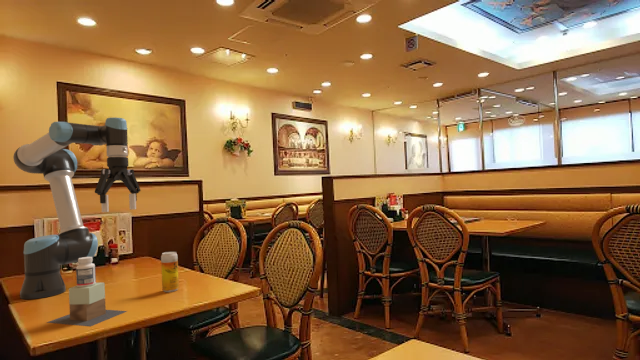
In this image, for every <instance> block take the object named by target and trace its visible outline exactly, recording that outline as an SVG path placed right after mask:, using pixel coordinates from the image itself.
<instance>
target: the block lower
mask: <svg viewBox="0 0 640 360" xmlns="http://www.w3.org/2000/svg"><path fill="white" fill-rule="evenodd" d="M68 306H69V314H70V320H80V321H88V320H91V319H93V318H96V317H99V316H101V315H104V314H106V310H107V307H106V297H105V298H103V299H101V300H99V301H96V302H94V303H91V304H69V305H68Z"/></svg>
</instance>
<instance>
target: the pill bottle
mask: <svg viewBox="0 0 640 360" xmlns="http://www.w3.org/2000/svg"><path fill="white" fill-rule="evenodd" d="M93 258H94V257H93ZM93 258H92V257H82V258H79V259H78V262H77V264H78V265H77V266H76V267H75V273H76V274H75V275H76V276H75V277H76V286H77V287H88V286H92V285H95V284H96V283H97V279H96V278H97V277H96V276H97V275H96V265H95V263H93V261H94V259H93Z"/></svg>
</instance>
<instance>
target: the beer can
mask: <svg viewBox="0 0 640 360" xmlns="http://www.w3.org/2000/svg"><path fill="white" fill-rule="evenodd" d="M178 259H179V258H178V254H177V251H165V252H162V253H161V256H160V263H161V286H162V287H161V288H162V291H163V292H164V293H174V292H176V291H178V290H179V288H180V286H179V285H180V284H179V283H180V282H179V261H178Z"/></svg>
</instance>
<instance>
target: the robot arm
mask: <svg viewBox="0 0 640 360" xmlns="http://www.w3.org/2000/svg"><path fill="white" fill-rule="evenodd" d="M128 142H129V141H128V124H127V120H126V119H125V118H123V117H108V118H106V119H105V123H104V125H96V124H94V125H93V124H83V123H75V122H67V121H53V122H51V124H50V125H49V129H48V132H47V133H46V134H44V135H42V136H41V137H39V138H37V139H36V140H34V141H33V142H31V143H26V144H23V145H21V146H19V147H18V148H17V149H16V150H15V151H14V153H13V159H12V160H13V161H14V162H13V163H14V164H15V165H16V167H18V169H20V170H22V172H24V173H25V172H26V173H28V174H41V175H43V179H44V180H45V181H47V182H49V187H50V191H51V195H52V199H53V203H54V207H55V211H56V216H57V220H58V223H59V228H60V231H59V233H58V234H48V235H42V236H37V237H34V238H30V239H28V240H27V241H25V242H24V245H23V252H22V253H23V259H24V260H23V262H24V265H23V266H24V279H23V283H22V285H21V288H20V291H19V298H20V299H22V300H35V299H43V298H48V297H53V296H56V295H61V294H63V293H64V292H66V291H67V290H66V284H65V282H64V278H63V277H62V274H61V269H60V268H61V267H60V266H62V265H63V266H64V265H68V264H74V263H78V259H79V258H82V257H92V258H94V257H95V255H96V254H97V252H98V251H97V250H98V247H99V246H98V245H99V242H98V237H97V235H96V234H95V233H93V232H90V231H89V228H88V227H87V226H84V222H83V220H82V215H81V214H82V213H81V211H80V207H79V204H78V199H77V195H76V191H75V187H74V183H73V180H72V178H73V177H74V175H75V173H76V171H77V169H78V159H77V157H76V155H75V153H74V152H73V151H72V150H70V149H66V147H68V146H69V145H71V144H86V145H87V144H89V145H92V146H104V145H105V146H106V157H107V158H106V167H107V168H102V169H101V170H100V176H99V179H98V182H97V185H96V187H95V189H94V193H95V194H96V195H98V196H99V202H100V204H101V213H109V212H110V209H109V208H110V206H109V194H107V193H108V192H109V190H110V189H111V187H112V186H113V184H114V183H115V182H116V181H121V182H122V183H123V184H124V186H125V187H126V188H127V190H128V191H129V193H128V199H129V200H128V201H129V210H132V211H133V210H137V200H138V199H137V198H138V195H137V194H139V193H140V192H141V191H142V190H141V187H140V185H139V183H138V180H137V178H136V176H135V171H134V169H128V167H129V157H128V156H129V150H128Z"/></svg>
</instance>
